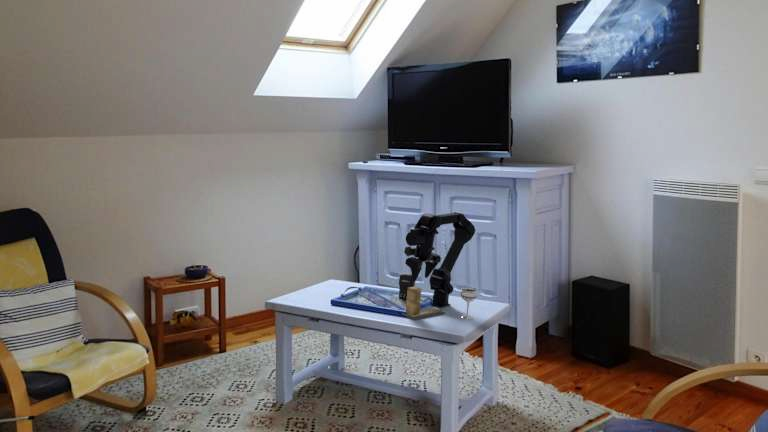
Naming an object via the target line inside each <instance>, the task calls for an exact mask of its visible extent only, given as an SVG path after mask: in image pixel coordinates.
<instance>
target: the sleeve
mask: <svg viewBox="0 0 768 432" xmlns="http://www.w3.org/2000/svg"><path fill="white" fill-rule="evenodd" d="M421 299H422V288H420V287H418V286H415V287H409V288H408V289H407V299H406V305H405V306H406V307H405V309H406V313H407V314H408V315H410V316H412V315H413V314H418V313H420V307H421V301H422V300H421Z"/></svg>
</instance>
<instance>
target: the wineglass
mask: <svg viewBox="0 0 768 432" xmlns="http://www.w3.org/2000/svg"><path fill="white" fill-rule="evenodd" d="M460 289H461V291H460V297H461V299H462V300H463V301H465V302H466V314H465V315H461V316H460V317H461V319H463V320H472V319H471V318H473V319H474V317H473V316H471V315H469V306H470V303H471V302H473V301H475V300H476V299H477V297H478V288H475V287H470V286H464V287H463V286H462V287H461V288H460Z"/></svg>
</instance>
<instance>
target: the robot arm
mask: <svg viewBox="0 0 768 432" xmlns="http://www.w3.org/2000/svg"><path fill="white" fill-rule="evenodd" d="M451 224H452V227H453V228H454V231H453V235H454V238H453V240H452V243H451V245H450V247H449V248H448V251H447V253H446V255H445V257H444V259H443V261H442V260H441V259H442V257H441V255H439V254H436V253H434V252H433V251H434V250H435V249H436V248H435V246H434V244H435V243H434V242H435V237H436V235H438V234H439V233H440V232H439V231H438V229H439V228H440V227H441V226H443V225H451ZM475 234H476V228H475V225H474V224H473V223H472V222H471V221H470V220H469V219H468V218H467V217H466V216H465V214H463V213H462V212H456V211H455V212H454V211H453V212H451V213H443V214H432V213H431V214H430V213H422V214H421V216H420V217H419V219H418V220H417V222H416V224H415V226H414V228H411V229H409V232H408V233H407V234H406V236H405V242H406V244H407V246H405V247H404V251H403V252H404V254H405V255H406V257H407V258H406V259H405V262H404V263H405V265H406V266H407V267H409V268H410V271H411V273H410V274H412V279H413V281H415V282H416V281H417V279H418V277H419V275H420V273H421V270H422V269H423V268H422V266H423V263H424V264H425V266H424V267H425V269H424V278H425V279H428V278H429V280H428V281H429V287H430V290H431V291H433V295H432V302H433V303H432V304H431V305H433V306H436V307H438V308H445V307H450V306H451V303H449V297H450V294H452V293H453V291H454V286H453V285H452V284H451V280H452V274H451V272H452V270H453V268H454V266H455V265H456V263H457V260H458V258H459V256H460V254H461V252H462V250H463V248H464V246H465V244H467V243H468V242H470V241H471V240H472V239H473V237H474V235H475ZM412 246H416V247H412ZM441 261H442V263H441ZM439 263H441V265H440V267H438V268H436V266H438V265H439ZM429 276H430V277H429Z"/></svg>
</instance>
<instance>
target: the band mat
mask: <svg viewBox="0 0 768 432" xmlns="http://www.w3.org/2000/svg"><path fill="white" fill-rule="evenodd" d="M425 306H426V305H425ZM401 315H403V316H404V317H406V318H409V319H410V320H414V321H416V320H422V319H426V318H430V317H436V316H440V315H446V312H445V311H444V309H442V308H439V309H438V308H435V307H433V306H431V305H428V306H426V307H424V308H422V309H421V310H420V313H418V314H413V315H412V316H410V315H408V314H404V313H402V314H401Z"/></svg>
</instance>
